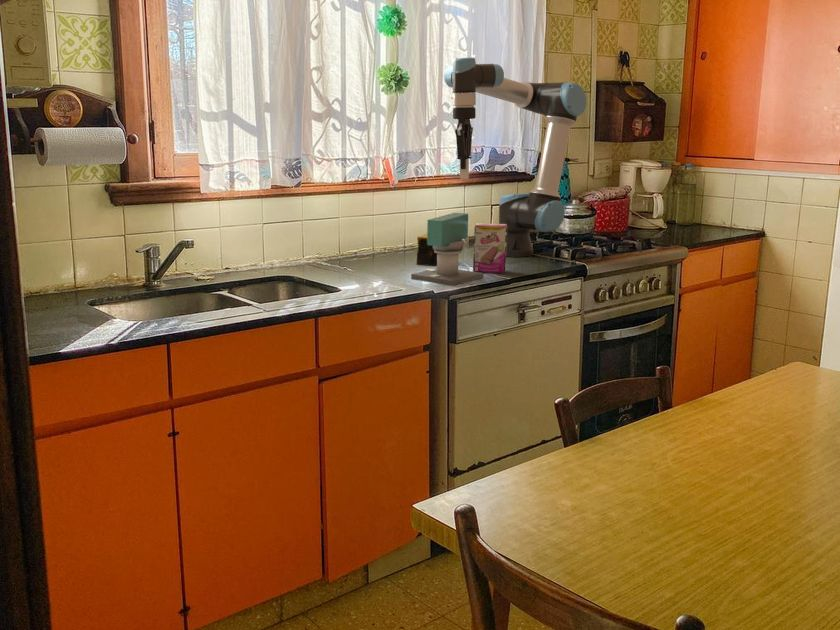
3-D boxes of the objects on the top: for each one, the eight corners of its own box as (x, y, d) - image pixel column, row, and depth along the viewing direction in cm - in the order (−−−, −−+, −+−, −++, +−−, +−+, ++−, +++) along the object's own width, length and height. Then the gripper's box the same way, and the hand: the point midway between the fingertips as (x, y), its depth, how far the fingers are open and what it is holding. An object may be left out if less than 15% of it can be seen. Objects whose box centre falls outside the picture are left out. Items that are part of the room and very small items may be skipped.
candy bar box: (472, 272, 288) (474, 224, 284) (473, 270, 292) (474, 222, 288) (505, 273, 286) (507, 225, 282) (505, 270, 291) (507, 223, 287)
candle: (416, 264, 301) (416, 237, 299) (426, 260, 310) (426, 233, 308) (442, 267, 298) (443, 238, 295) (452, 262, 307) (452, 235, 304)
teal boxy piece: (420, 252, 269) (420, 219, 266) (447, 243, 287) (447, 212, 285) (448, 254, 265) (449, 221, 262) (474, 245, 283) (475, 214, 280)
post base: (442, 271, 290) (443, 243, 287) (483, 277, 279) (484, 249, 277) (411, 278, 277) (411, 249, 275) (452, 285, 267) (453, 256, 264)
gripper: (459, 106, 284) (459, 176, 291) (447, 107, 273) (447, 180, 279) (480, 105, 282) (480, 176, 288) (469, 107, 270) (469, 181, 276)
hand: (464, 178), depth 284 cm, fingers closed
